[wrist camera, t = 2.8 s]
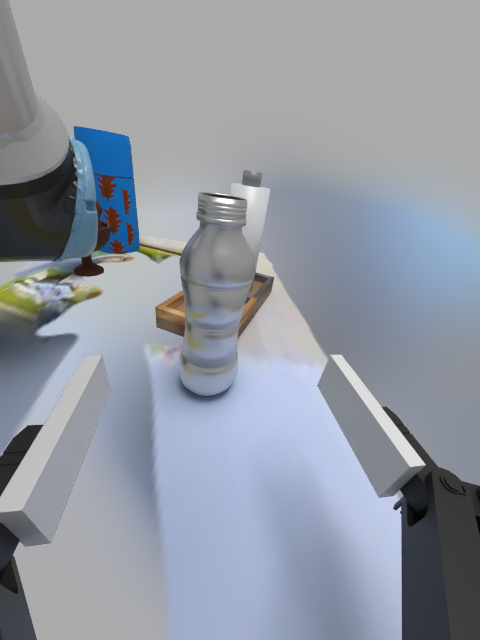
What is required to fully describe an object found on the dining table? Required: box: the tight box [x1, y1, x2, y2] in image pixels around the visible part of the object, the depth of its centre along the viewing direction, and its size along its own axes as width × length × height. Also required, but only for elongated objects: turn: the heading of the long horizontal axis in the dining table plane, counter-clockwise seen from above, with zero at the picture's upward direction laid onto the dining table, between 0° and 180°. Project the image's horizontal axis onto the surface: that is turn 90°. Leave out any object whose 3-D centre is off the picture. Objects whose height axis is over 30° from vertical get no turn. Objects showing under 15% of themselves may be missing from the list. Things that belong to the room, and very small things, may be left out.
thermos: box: [74, 126, 139, 253], centre depth 57 cm, size 11×11×25 cm
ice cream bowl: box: [74, 199, 111, 277], centre depth 45 cm, size 11×11×15 cm
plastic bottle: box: [178, 192, 256, 396], centre depth 23 cm, size 6×7×20 cm
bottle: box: [231, 170, 270, 292], centre depth 42 cm, size 6×6×20 cm
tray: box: [155, 273, 274, 338], centre depth 43 cm, size 12×24×4 cm, turn 158°
